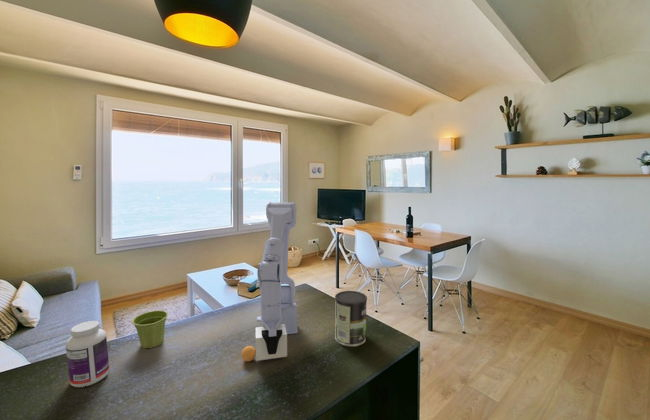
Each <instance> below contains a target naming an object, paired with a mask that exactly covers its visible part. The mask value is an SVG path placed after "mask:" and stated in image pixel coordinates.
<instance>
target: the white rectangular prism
mask: <svg viewBox="0 0 650 420" xmlns="http://www.w3.org/2000/svg"><path fill="white" fill-rule="evenodd" d="M281 329H282V336H281V337H280V339H279V342H278V347H277V352H276V354H271V355H269V354H268V351H267V346H266V342H265V340H264V339H263V337H262V330H268V329H267V328H266V327H265V326H264V325H263V326H256V327H255V350H256V355H255V361H256V362H257V361H264V360H265V361H266V360H272V359H278V358H287V357H288V334H287V332H286V327H285V324H281V325H278V327H277V329H276V330H281Z"/></svg>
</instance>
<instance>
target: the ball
mask: <svg viewBox="0 0 650 420" xmlns="http://www.w3.org/2000/svg"><path fill="white" fill-rule="evenodd" d="M241 358H242V360H244V361H245V362H252V361H253V360H255V359H256V347H254V346H252V345H247V346H245V347H244V348H243V349H242V351H241Z"/></svg>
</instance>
